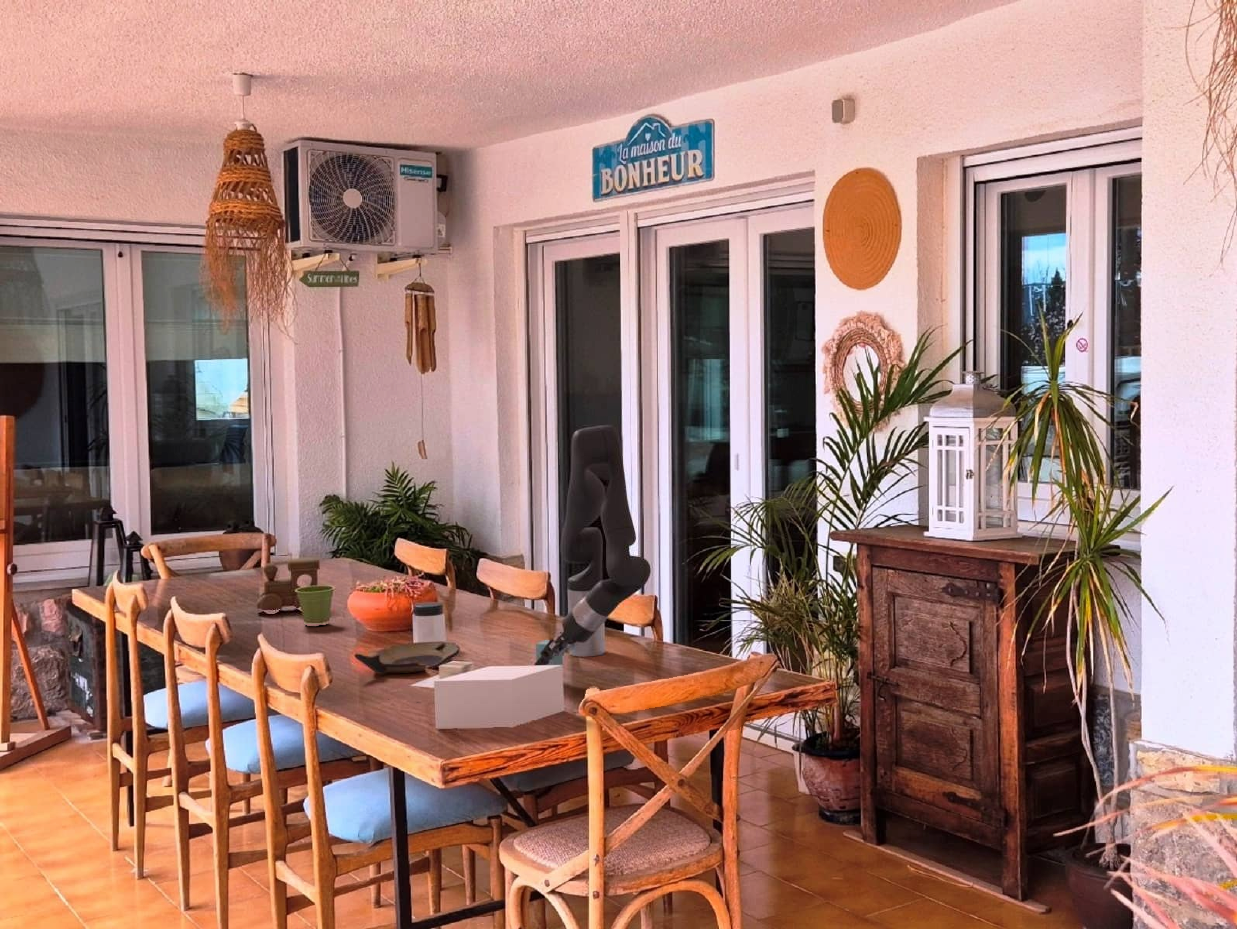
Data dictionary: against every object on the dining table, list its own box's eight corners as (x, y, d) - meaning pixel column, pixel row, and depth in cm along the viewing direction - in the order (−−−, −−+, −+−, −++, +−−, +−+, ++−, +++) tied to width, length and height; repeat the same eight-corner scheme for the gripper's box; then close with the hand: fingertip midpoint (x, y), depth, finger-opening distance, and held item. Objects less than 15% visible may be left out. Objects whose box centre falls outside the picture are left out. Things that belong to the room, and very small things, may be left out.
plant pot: (295, 623, 403) (294, 587, 402) (335, 620, 406) (333, 584, 405) (297, 630, 392) (295, 592, 391) (337, 627, 395) (336, 590, 394)
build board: (448, 675, 325) (447, 671, 325) (503, 680, 318) (503, 676, 318) (410, 689, 311) (409, 685, 311) (467, 695, 304) (467, 690, 304)
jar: (410, 650, 356) (408, 607, 356) (417, 644, 364) (415, 601, 364) (442, 650, 356) (440, 606, 355) (449, 644, 364) (447, 601, 363)
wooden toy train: (319, 606, 433) (317, 556, 432) (322, 611, 423) (320, 560, 422) (257, 611, 428) (254, 560, 427) (257, 616, 417) (255, 564, 416)
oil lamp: (477, 671, 329) (476, 641, 329) (362, 688, 314) (361, 656, 313) (442, 656, 348) (441, 628, 348) (332, 672, 333) (331, 642, 333)
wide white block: (576, 718, 281) (575, 671, 280) (446, 737, 268) (444, 688, 268) (551, 704, 294) (550, 658, 293) (425, 721, 282) (424, 674, 281)
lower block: (453, 677, 318) (452, 660, 318) (474, 678, 316) (473, 662, 316) (439, 682, 313) (438, 665, 313) (460, 684, 310) (460, 667, 310)
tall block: (546, 681, 315) (545, 640, 315) (563, 682, 313) (561, 641, 313) (537, 685, 311) (536, 643, 311) (554, 686, 309) (552, 644, 309)
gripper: (589, 601, 314) (547, 648, 320) (560, 611, 301) (517, 660, 308) (610, 624, 312) (567, 671, 318) (582, 635, 299) (537, 684, 306)
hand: (542, 665), depth 313 cm, fingers closed on tall block, 4 cm apart
